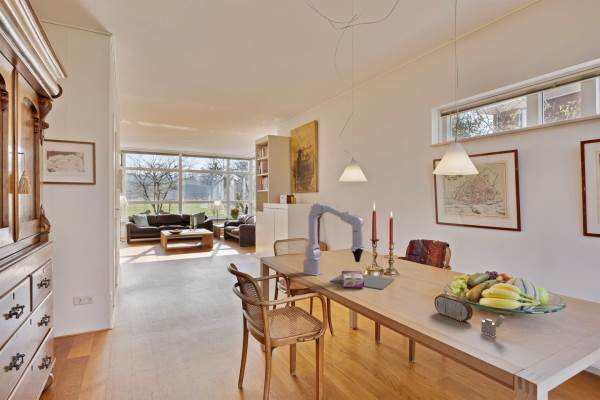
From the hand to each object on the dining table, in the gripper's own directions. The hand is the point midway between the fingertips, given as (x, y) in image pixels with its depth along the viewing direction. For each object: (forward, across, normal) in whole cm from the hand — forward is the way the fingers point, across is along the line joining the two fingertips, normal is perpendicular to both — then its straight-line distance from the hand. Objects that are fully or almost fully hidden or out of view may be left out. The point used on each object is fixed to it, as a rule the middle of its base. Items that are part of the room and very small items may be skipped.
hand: (357, 262), depth 183 cm
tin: (+11, -33, -53) cm, 63 cm away
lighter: (+11, -44, -67) cm, 81 cm away
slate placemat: (+10, 0, -3) cm, 11 cm away
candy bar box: (+7, -2, +3) cm, 8 cm away
